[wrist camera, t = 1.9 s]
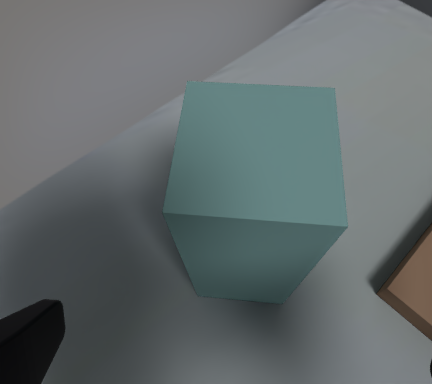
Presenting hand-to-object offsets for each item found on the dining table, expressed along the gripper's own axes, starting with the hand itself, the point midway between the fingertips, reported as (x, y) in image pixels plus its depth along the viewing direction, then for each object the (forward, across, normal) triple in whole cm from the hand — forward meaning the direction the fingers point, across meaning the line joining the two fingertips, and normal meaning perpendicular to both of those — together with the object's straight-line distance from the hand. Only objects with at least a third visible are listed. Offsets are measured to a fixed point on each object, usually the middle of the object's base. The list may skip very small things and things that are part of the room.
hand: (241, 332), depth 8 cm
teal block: (+12, 0, +4) cm, 13 cm away
